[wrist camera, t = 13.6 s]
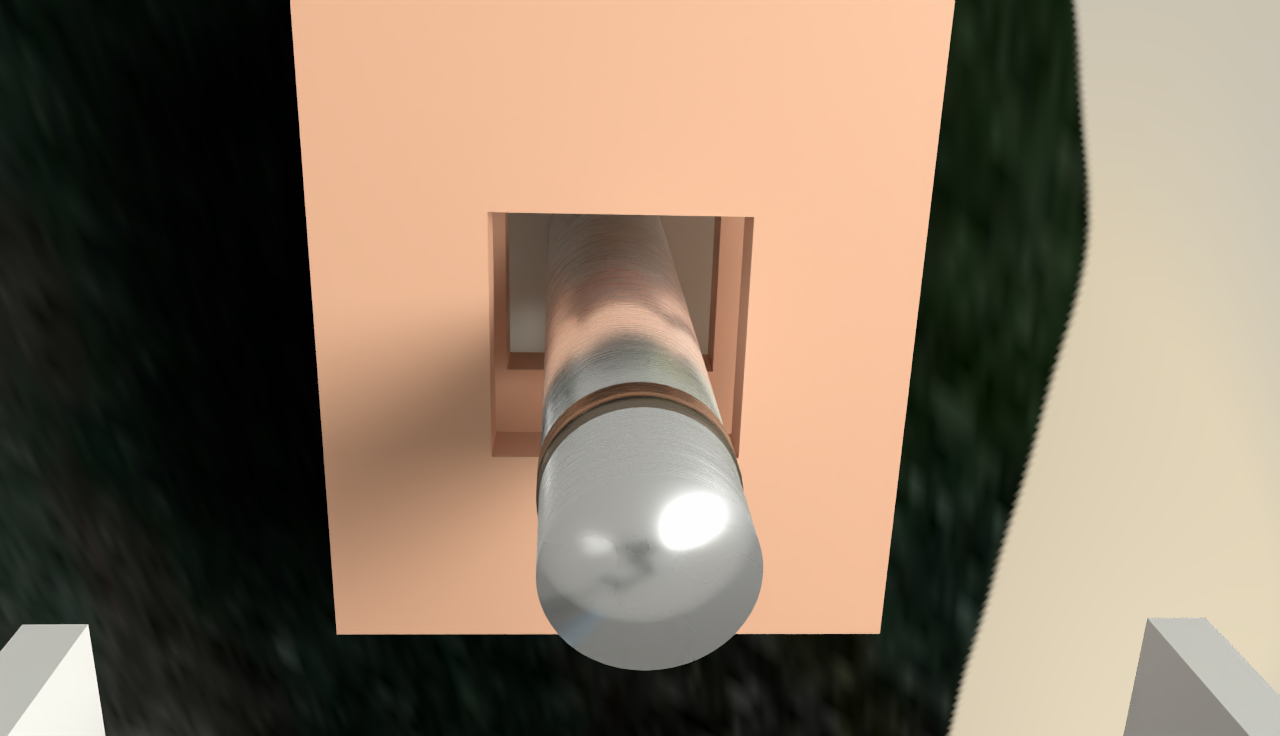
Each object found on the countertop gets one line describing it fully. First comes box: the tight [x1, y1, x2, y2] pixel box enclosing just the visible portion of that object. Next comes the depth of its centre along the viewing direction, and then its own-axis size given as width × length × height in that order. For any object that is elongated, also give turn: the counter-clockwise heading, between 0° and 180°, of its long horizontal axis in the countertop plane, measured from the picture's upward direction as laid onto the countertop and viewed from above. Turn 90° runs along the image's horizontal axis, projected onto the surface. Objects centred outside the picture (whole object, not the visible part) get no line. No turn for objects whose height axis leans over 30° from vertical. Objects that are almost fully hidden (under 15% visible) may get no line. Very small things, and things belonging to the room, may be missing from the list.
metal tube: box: [536, 213, 763, 670], centre depth 27 cm, size 4×4×20 cm
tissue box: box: [290, 0, 955, 634], centre depth 32 cm, size 16×14×12 cm
